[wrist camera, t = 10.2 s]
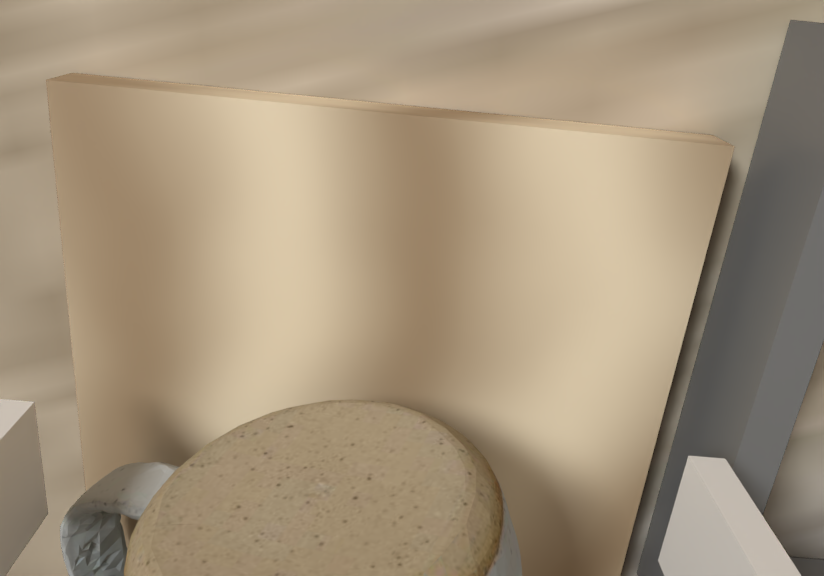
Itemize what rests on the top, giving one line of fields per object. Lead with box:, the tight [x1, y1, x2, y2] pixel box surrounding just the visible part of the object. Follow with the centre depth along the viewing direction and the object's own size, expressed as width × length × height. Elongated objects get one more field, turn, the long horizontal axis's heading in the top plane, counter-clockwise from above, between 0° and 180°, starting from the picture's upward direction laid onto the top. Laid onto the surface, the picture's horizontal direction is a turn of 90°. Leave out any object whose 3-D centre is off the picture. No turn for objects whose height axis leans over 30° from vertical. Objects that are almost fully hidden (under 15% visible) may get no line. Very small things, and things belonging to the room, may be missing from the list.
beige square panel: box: [46, 73, 735, 576], centre depth 18 cm, size 14×14×1 cm
